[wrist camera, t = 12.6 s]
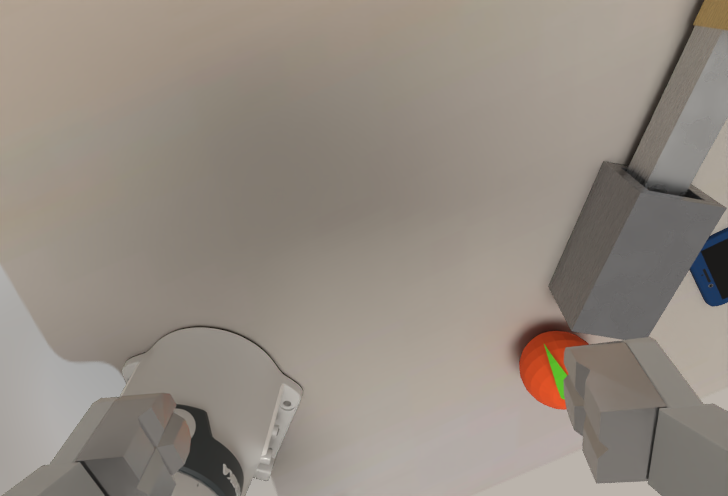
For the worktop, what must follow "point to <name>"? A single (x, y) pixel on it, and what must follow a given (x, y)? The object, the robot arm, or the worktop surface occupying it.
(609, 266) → the sleeve
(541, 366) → the clementine
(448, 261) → the worktop surface
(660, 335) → the worktop surface
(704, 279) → the cell phone
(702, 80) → the gold-banded square post
